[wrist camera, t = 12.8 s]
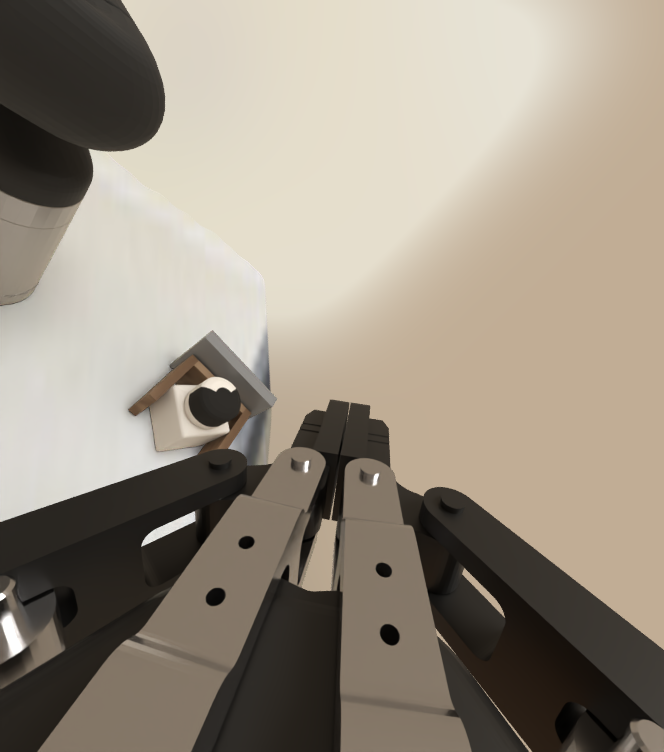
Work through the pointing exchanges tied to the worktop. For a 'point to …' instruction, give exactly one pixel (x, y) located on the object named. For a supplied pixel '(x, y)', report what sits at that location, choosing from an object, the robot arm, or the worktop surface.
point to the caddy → (192, 375)
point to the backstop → (230, 372)
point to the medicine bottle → (194, 413)
